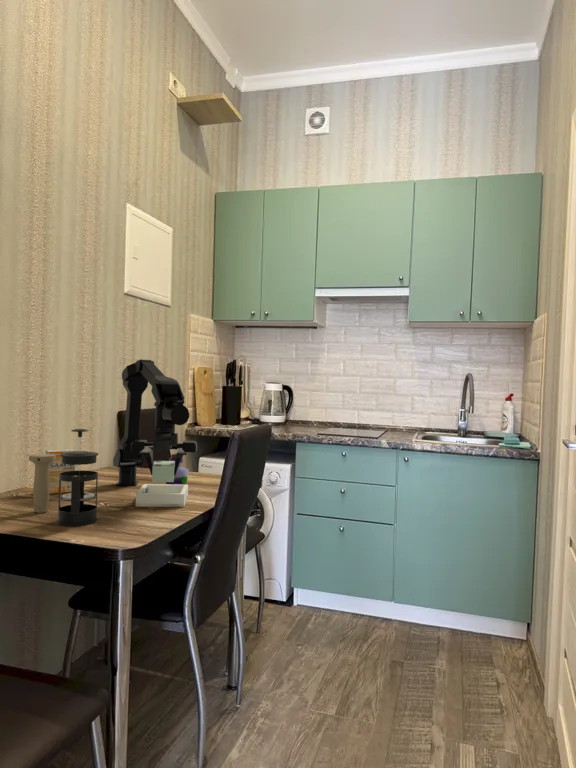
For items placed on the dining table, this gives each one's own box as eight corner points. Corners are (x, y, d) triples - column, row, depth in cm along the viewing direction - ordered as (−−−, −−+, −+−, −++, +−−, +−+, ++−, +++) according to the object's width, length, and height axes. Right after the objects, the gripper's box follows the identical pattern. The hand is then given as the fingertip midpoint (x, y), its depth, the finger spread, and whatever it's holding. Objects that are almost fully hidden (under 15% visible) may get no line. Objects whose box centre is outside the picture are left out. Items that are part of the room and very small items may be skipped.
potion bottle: (184, 494, 173) (186, 456, 173) (157, 493, 174) (159, 455, 174) (191, 489, 182) (192, 452, 182) (165, 488, 182) (166, 451, 182)
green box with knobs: (154, 475, 167) (154, 460, 167) (174, 475, 168) (174, 460, 168) (152, 482, 157) (152, 465, 157) (173, 482, 158) (174, 465, 158)
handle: (49, 514, 143) (51, 456, 143) (24, 514, 143) (26, 456, 143) (56, 510, 148) (58, 454, 148) (32, 509, 148) (33, 453, 148)
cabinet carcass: (143, 495, 169) (143, 484, 169) (187, 496, 170) (188, 484, 170) (135, 506, 155) (135, 493, 155) (183, 506, 156) (184, 494, 156)
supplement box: (46, 494, 167) (47, 451, 167) (43, 491, 171) (45, 449, 171) (75, 492, 171) (76, 450, 171) (71, 489, 175) (73, 448, 175)
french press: (60, 516, 141) (63, 427, 141) (99, 515, 144) (101, 427, 144) (53, 528, 130) (55, 431, 130) (95, 527, 132) (97, 431, 132)
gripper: (127, 423, 153) (126, 479, 154) (195, 425, 155) (193, 480, 155) (134, 420, 165) (133, 473, 165) (197, 422, 166) (196, 474, 167)
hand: (163, 475), depth 163 cm, fingers closed on green box with knobs, 6 cm apart
